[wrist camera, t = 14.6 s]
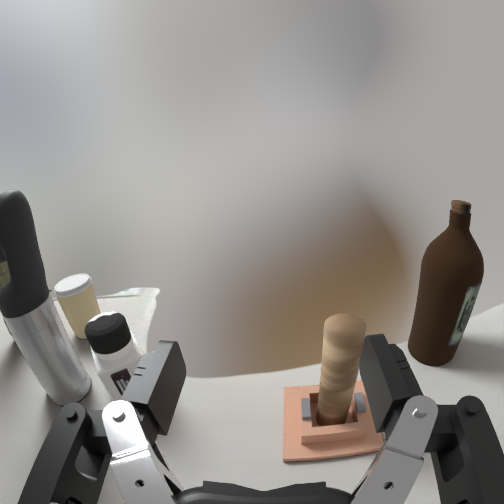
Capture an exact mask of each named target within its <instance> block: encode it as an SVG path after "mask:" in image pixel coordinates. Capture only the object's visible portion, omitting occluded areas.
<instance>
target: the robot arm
mask: <svg viewBox="0 0 504 504" xmlns="http://www.w3.org/2000/svg"><path fill="white" fill-rule="evenodd" d="M6 261H7V265H8V269H9V274H10V281H9V282H8V283H7V284H6V285H5V286H4V287H3V288H2V289H1V290H0V311H1V313H2V315H3V317H4V320H5V322H6V324H7V326H8V328H9V330H10V332H11V334H12V336H13V338H14V340H15V342H16V344H17V345H18V347H19V349H20V351H21V353H22V355H23V356H24V358H25V360H26V362H27V363H28V365H29V367H30V368H31V370H32V371H33V373H34V375H35V376H36V378H37V379H38V381H39V382H40V384H41V385H42V387H43V388H44V390H45V391H46V392H47V394H48V395H49V397H50V398H51V399H52V401H53V402H55V403H56V404H58V405H65V406H64V407H62V409H61V410H60V412H59V414H58V415H57V417H56V419H55V421H54V423H53V425H52V427H51V429H50V431H49V433H48V435H47V437H46V439H45V441H44V443H43V445H42V447H41V449H40V452H39V454H38V456H37V458H36V460H35V462H34V465H33V467H32V469H31V472H30V474H29V476H28V479H27V481H26V484H25V486H24V489H23V491H22V494H21V497H20V499H19V502H18V504H97V502H98V499H99V495H100V492H101V489H102V485H103V482H104V479H105V476H106V473H107V470H108V467H109V464H111V467H112V470H113V473H114V476H115V479H116V481H117V484H118V486H119V489H120V492H121V494H122V496H123V499H124V501H125V504H404V502H405V500H406V498H407V496H408V494H409V492H410V490H411V488H412V486H413V484H414V482H415V480H416V478H417V476H418V474H419V472H420V470H421V467H422V465H423V462H424V458H422V456H423V453H425V452H430V453H431V457H432V461H433V466H434V470H435V475H436V479H437V484H438V490H439V495H440V501H441V504H504V454H503V451H502V448H501V445H500V443H499V440H498V437H497V435H496V432H495V430H494V427H493V425H492V422H491V420H490V418H489V415H488V413H487V411H486V409H485V407H484V404H483V403H482V401H481V400H480V399H478V398H477V397H474V396H465V397H463V398H461V399H460V400H459V401H458V403H457V404H456V405H438V404H436V403H435V402H434V400H432V399H431V398H429V397H427V396H424V395H423V393H422V391H421V389H420V387H419V384H418V382H417V380H416V378H415V376H414V374H413V372H412V369H410V365H409V363H408V361H407V359H406V357H405V355H404V353H403V351H402V350H401V349H400V348H399V347H398V346H396V345H395V344H388V342H387V340H386V338H385V336H384V335H383V334H376V335H368V336H366V337H365V339H364V344H363V348H362V353H361V357H360V362H359V370H360V375H361V379H362V382H363V385H364V389H365V392H366V396H367V399H368V403H369V407H370V410H371V414H372V418H373V422H374V426H375V430H376V433H381V432H385V434H386V439H385V441H384V443H383V444H382V446H381V448H380V450H379V452H378V453H377V455H376V457H375V459H374V460H373V462H372V464H371V465H370V467H369V469H368V470H367V472H366V473H365V475H364V476H363V478H362V479H361V481H360V482H359V483H358V485H357V486H356V488H355V489H354V490H353V492H352V493H351V494H350V493H347V492H345V491H342V490H339V489H335V488H329V487H326V482H317V483H305V484H294V485H290V486H286V487H282V488H278V489H273V490H269V491H259V490H255V489H251V488H247V487H243V486H239V485H236V484H231V483H219V482H210V481H203V486H202V487H195V488H191V489H187V490H184V489H183V488H182V486H181V485H180V483H179V482H178V480H177V479H176V478H175V476H174V475H173V473H172V471H171V469H170V467H169V466H168V464H167V462H166V460H165V458H164V456H163V454H162V452H161V450H160V448H159V446H158V444H157V442H156V438H157V435H158V434H160V435H166V436H167V433H168V430H169V427H170V424H171V421H172V417H173V414H174V411H175V408H176V405H177V402H178V399H179V396H180V393H181V390H182V387H183V384H184V381H185V378H186V366H185V363H184V359H183V357H182V353H181V351H180V347H179V344H178V343H177V342H176V341H159V343H158V345H157V346H156V348H155V350H154V351H149V352H148V353H147V354H145V355H144V356H143V357H142V358H141V360H140V362H139V364H138V366H137V368H136V370H135V371H134V375H132V377H131V379H130V381H129V383H128V385H127V387H126V389H125V391H124V393H123V395H122V397H121V399H120V401H115V402H112V403H110V404H109V405H107V406H106V407H105V409H104V410H97V411H86V409H85V408H84V407H83V406H82V405H81V404H79V403H76V402H78V401H79V400H81V399H82V398H83V397H84V396H85V395H86V394H87V393H88V391H89V389H90V386H91V380H90V377H89V375H88V373H87V372H86V370H85V368H84V366H83V364H82V363H81V361H80V359H79V357H78V355H77V353H76V351H75V349H74V347H73V345H72V343H71V341H70V339H69V337H68V335H67V333H66V330H65V328H64V326H63V324H62V321H61V319H60V317H59V314H58V312H57V310H56V307H55V305H54V302H53V300H52V297H51V295H50V292H49V289H48V287H47V283H46V277H45V270H44V266H43V262H42V258H41V254H40V250H39V246H38V241H37V236H36V231H35V226H34V221H33V217H32V212H31V209H30V206H29V203H28V201H27V199H26V197H25V196H24V195H23V193H21V192H20V191H18V190H10V191H7V192H4V193H2V194H0V263H2V262H6ZM81 446H82V447H81ZM80 448H81V450H80ZM79 451H80V452H79ZM78 453H79V455H78ZM112 455H113V458H112ZM77 456H78V457H77ZM76 458H77V460H76ZM75 461H76V462H75Z"/></svg>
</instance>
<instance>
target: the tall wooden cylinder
mask: <svg viewBox="0 0 504 504" xmlns="http://www.w3.org/2000/svg"><path fill="white" fill-rule="evenodd" d="M365 331H366V323H365V321H364V320H363V319H362V318H360V317H358V316H356V315H353V314H346V313H342V314H336V315H333V316H331V317H329V318H328V319H327V320H326V321H325V324H324V339H323V355H322V366H321V377H320V387H319V396H318V405H317V413H316V421H317V423H318V425H319V426H331V425H339V424H345V422H346V420H347V416H348V412H349V409H350V405H351V401H352V397H353V392H354V388H355V384H356V379H357V375H358V370H359V362H360V357H361V353H362V348H363V343H364V337H365Z"/></svg>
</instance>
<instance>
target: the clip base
mask: <svg viewBox="0 0 504 504" xmlns="http://www.w3.org/2000/svg"><path fill="white" fill-rule="evenodd" d="M319 387H320V385H313V386H298V387H284V447H283V462H287V461H307V460H319V459H329V458H338V457H345V456H352V455H358V454H364V453H369V452H374V451H379V450H380V448H381V446H382V444H383V443H384V442H383V438H382V434H381V433H376V430H375V426H374V422H373V418H372V414H371V410H370V407H369V403H368V399H367V396H366V392H365V389H364V385H363V382H362V380H360V381H356V384H355V388H354V392H353V397H352V401H351V405H350V409H349V412H348V416H347V420H346V422H345V424H339V425H331V426H319V425H318V423H317V421H316V413H317V405H318V396H319Z"/></svg>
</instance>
